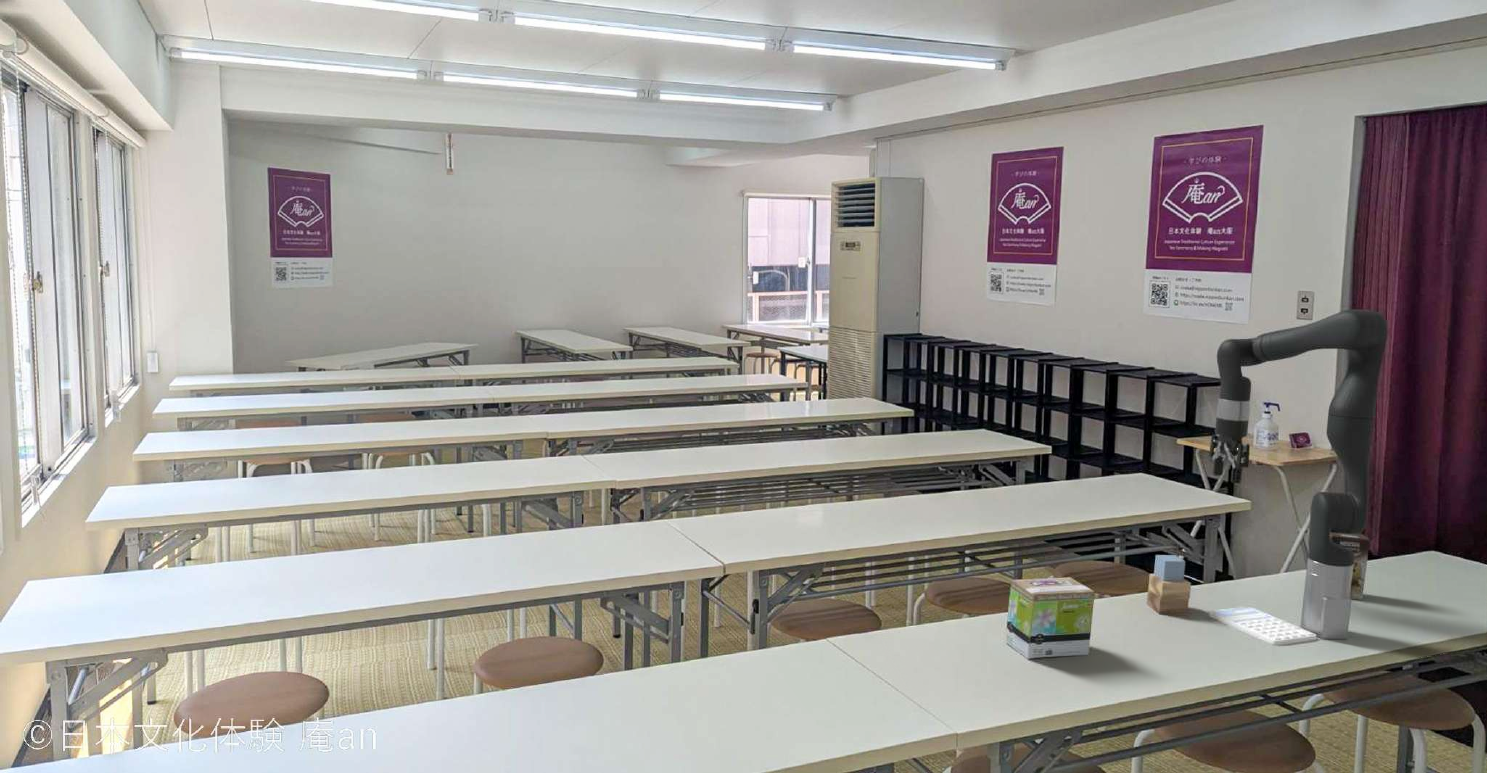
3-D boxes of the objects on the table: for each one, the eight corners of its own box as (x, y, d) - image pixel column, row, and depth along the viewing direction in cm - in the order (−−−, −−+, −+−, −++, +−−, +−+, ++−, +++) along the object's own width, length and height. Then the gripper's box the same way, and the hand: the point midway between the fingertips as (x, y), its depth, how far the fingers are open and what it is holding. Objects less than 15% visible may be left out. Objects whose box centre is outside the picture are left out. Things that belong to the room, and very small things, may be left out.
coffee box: (1323, 595, 267) (1330, 535, 265) (1317, 588, 274) (1324, 529, 271) (1363, 600, 265) (1370, 539, 263) (1356, 592, 271) (1363, 533, 269)
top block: (1189, 599, 250) (1191, 583, 249) (1161, 598, 249) (1162, 582, 249) (1175, 589, 256) (1177, 573, 256) (1148, 589, 256) (1149, 573, 256)
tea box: (1028, 660, 218) (1033, 593, 216) (1004, 642, 228) (1009, 578, 226) (1090, 655, 222) (1096, 589, 220) (1064, 638, 232) (1069, 574, 230)
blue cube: (1183, 581, 250) (1185, 561, 250) (1163, 581, 250) (1165, 561, 249) (1173, 574, 255) (1175, 555, 255) (1153, 574, 255) (1155, 554, 254)
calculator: (1274, 648, 232) (1275, 639, 231) (1206, 617, 250) (1207, 609, 250) (1318, 641, 236) (1319, 633, 236) (1248, 611, 255) (1248, 604, 255)
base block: (1187, 614, 250) (1188, 599, 250) (1158, 614, 250) (1160, 598, 249) (1174, 605, 257) (1175, 589, 256) (1146, 604, 257) (1148, 588, 256)
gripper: (1262, 422, 256) (1256, 485, 259) (1231, 412, 271) (1225, 472, 273) (1234, 421, 256) (1227, 485, 258) (1204, 411, 270) (1198, 472, 272)
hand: (1226, 478), depth 265 cm, fingers open, 8 cm apart
